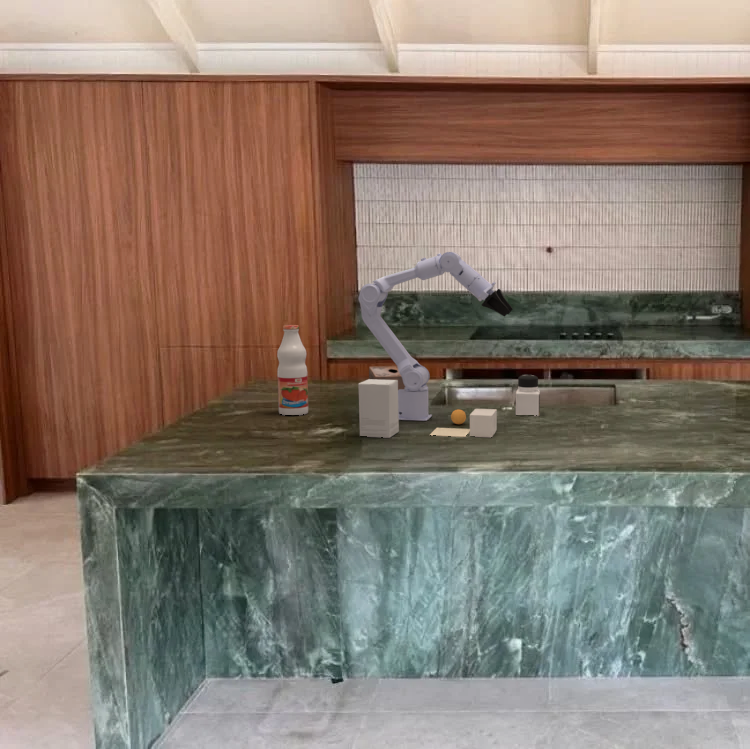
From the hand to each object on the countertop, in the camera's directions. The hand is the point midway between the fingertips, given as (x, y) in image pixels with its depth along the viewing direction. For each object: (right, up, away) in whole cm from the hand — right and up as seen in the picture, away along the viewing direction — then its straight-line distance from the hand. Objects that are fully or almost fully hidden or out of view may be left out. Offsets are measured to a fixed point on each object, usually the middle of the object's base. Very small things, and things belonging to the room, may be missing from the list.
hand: (508, 312), depth 246 cm
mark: (-18, -34, -9) cm, 39 cm away
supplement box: (-38, -35, -9) cm, 52 cm away
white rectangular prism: (-9, -34, -10) cm, 37 cm away
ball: (-14, -30, +2) cm, 34 cm away
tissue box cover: (-32, -27, +48) cm, 64 cm away
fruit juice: (-65, -30, +23) cm, 75 cm away
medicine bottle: (+9, -30, +17) cm, 36 cm away
